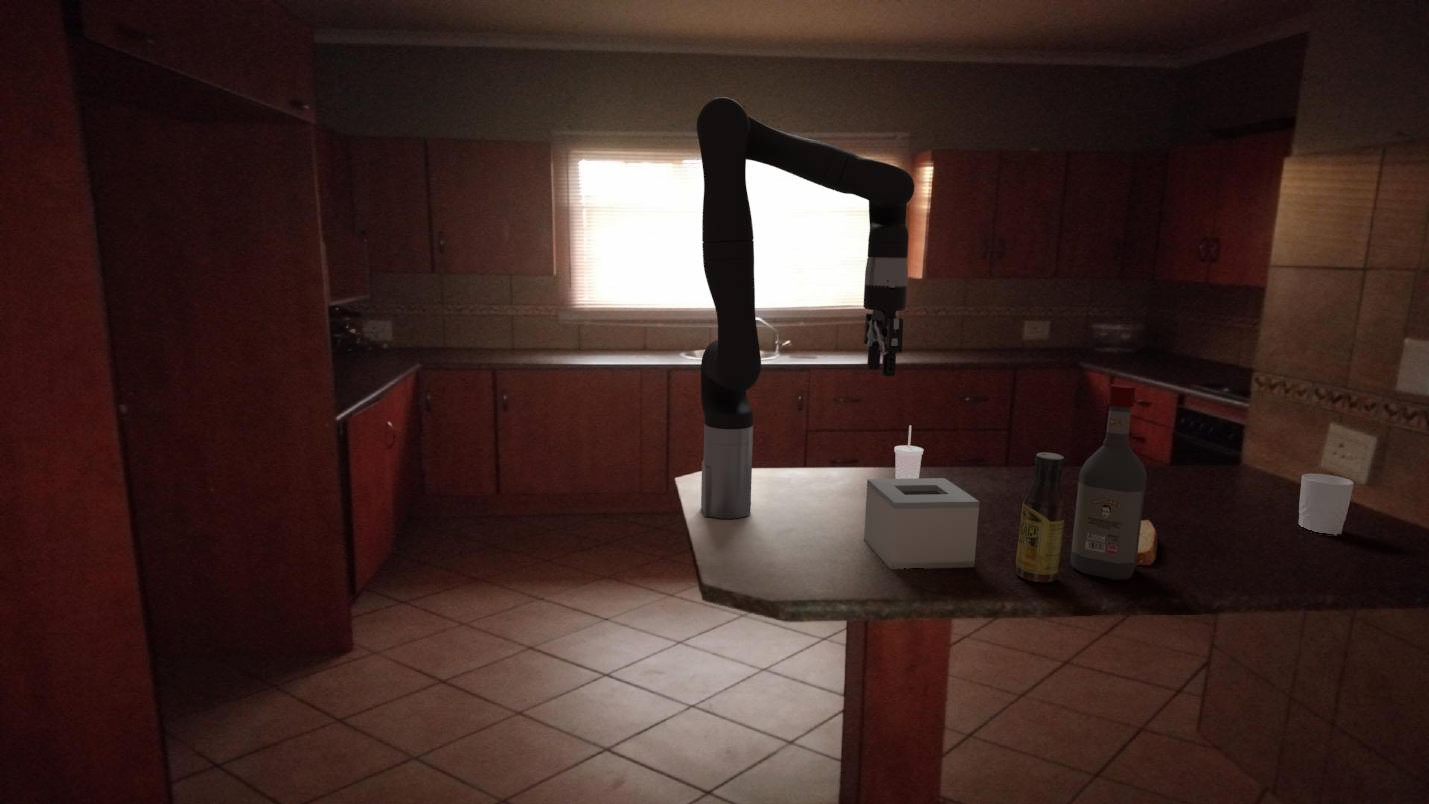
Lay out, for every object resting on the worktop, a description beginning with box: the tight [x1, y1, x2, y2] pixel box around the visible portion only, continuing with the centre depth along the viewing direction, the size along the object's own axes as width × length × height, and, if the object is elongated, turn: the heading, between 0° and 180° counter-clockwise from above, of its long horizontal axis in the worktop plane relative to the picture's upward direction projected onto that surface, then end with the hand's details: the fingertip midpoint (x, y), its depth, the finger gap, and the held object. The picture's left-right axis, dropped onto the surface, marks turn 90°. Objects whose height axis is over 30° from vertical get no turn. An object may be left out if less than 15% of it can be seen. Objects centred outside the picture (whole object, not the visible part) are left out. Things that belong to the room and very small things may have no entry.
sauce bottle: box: [1015, 451, 1067, 584], centre depth 129 cm, size 7×6×20 cm
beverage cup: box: [894, 424, 924, 479], centre depth 178 cm, size 6×6×14 cm
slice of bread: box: [1136, 519, 1158, 566], centre depth 147 cm, size 18×18×4 cm
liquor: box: [1069, 383, 1148, 581], centre depth 133 cm, size 9×9×30 cm
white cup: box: [1298, 473, 1354, 536], centre depth 157 cm, size 8×8×10 cm
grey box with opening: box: [863, 477, 980, 570], centre depth 139 cm, size 14×14×11 cm
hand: (880, 372), depth 153 cm, fingers open, 8 cm apart
